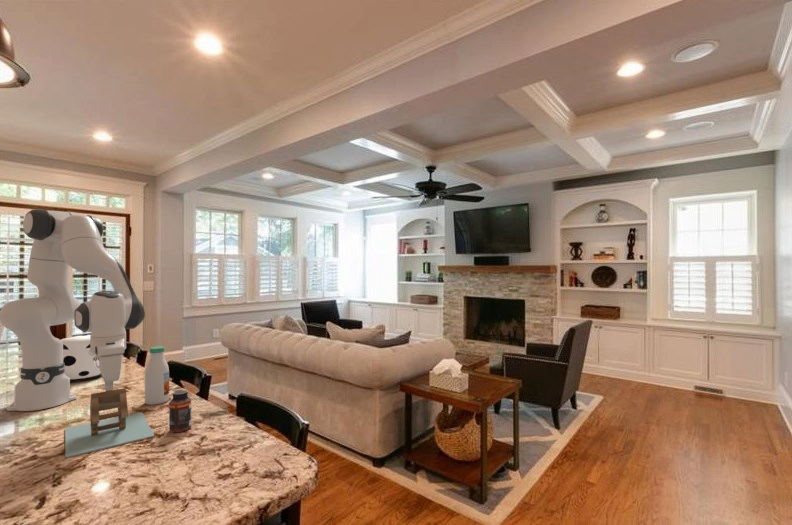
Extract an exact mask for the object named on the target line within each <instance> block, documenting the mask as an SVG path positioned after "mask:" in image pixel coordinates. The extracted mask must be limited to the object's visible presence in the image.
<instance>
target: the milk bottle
mask: <svg viewBox="0 0 792 525" xmlns="http://www.w3.org/2000/svg"><path fill="white" fill-rule="evenodd" d="M164 353H165V346H154V347H150V348H149V355H150V357H149V360H148V363H147V365H146V366H145V371H144V404H146V405H149V406H150V405H151V406H156V405H160V404H164V403H167V402H168V401H170V369H169V368H170V367H169V364H168V363H167V361H166V358H165V356H164V355H165V354H164Z"/></svg>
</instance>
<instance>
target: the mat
mask: <svg viewBox="0 0 792 525" xmlns="http://www.w3.org/2000/svg"><path fill="white" fill-rule="evenodd" d="M117 422H119V418H118V417H113V418H108V419H103V420H99V423H98V427H99V426H103V425H108V424H113V423H117ZM154 437H156V436H155V433H154V431H153V430H152V428H151V426H150V424H149V423H148V421H147V419H146V417H145V415H144V413H143V412H136V413H133V414H128V417H126V428H123V429H119V427H116V428H111V429H107V430H102V431H98V434H96V435H92V436H91V422H88V423H84V424H79V425H73V426H69V427H65V429H64V438H65V439H64V445H65V447H64V448H65V449H64V450H65V454H64V456H65V459H69V458H73V457H77V456H81V455H86V454H89V453H90V454H91V453H94V452H98V451H101V450H105V449H110V448H114V447H119V446H121V445H126V444H130V443H135V442H138V441H144V440H146V439H150V438H151V439H152V438H154Z"/></svg>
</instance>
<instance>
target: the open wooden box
mask: <svg viewBox="0 0 792 525" xmlns="http://www.w3.org/2000/svg"><path fill="white" fill-rule="evenodd" d="M127 398H128V397H127V387H126V388H125V387H124V388H118V389H113V390H111V391H106V390H104V391H101V392H96V393H95V392H94V393H91V394H90V406H89V414H90V415H89V416H90V423H91V436H92V435H96V434H98V431H102V430H107V429H111V428H116V427H119V429H123V428H126V417H128V415H129V410H128V409H129V408H128V400H127ZM112 409H113V410H114V409H117V411H115V412H110V413H105V414H100V412H102V411H107V410H108V411H109V410H112ZM117 417H118V418H119V422H117V423H113V424H108V425H103V426H99V427H98V423H99V421H102V420H107V419H112V418H117Z"/></svg>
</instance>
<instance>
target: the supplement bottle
mask: <svg viewBox="0 0 792 525" xmlns="http://www.w3.org/2000/svg"><path fill="white" fill-rule="evenodd" d="M188 395H189V394H188V390H186V389H185V390H183V389H182V390H177V391H174V392H172V399H171V400H169V403H168V404H169V405H168V409H169V410H168V411H169V412H168V413H169V414H168V416H169V417H168V418H169V419H168V421H169V422H168V423H169V424H168V427H169V431H170V432H171V433H182V432H185V431H188V430H190V429H191V427H192V399H191V398H190V397H189V396H188Z"/></svg>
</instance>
